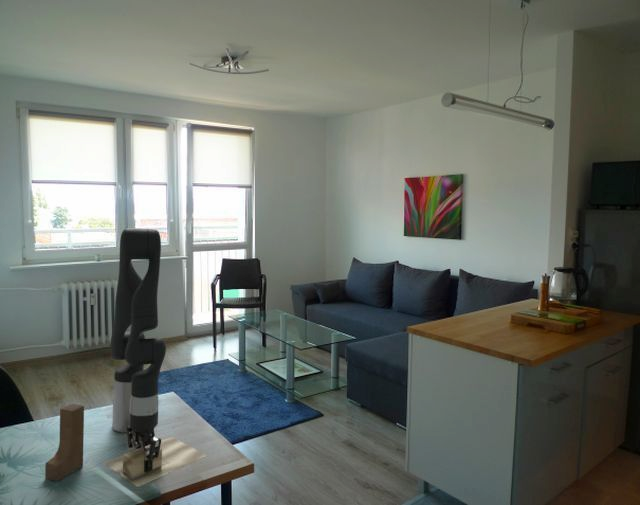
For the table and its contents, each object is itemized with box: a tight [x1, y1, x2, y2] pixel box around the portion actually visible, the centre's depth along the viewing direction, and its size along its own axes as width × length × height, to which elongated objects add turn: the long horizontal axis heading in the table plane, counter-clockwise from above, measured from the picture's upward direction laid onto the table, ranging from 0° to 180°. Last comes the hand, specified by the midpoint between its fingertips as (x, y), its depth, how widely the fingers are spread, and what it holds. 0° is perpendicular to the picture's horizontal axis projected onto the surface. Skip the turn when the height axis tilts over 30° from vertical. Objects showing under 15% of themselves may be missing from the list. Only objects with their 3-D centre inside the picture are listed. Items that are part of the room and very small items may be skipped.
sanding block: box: [122, 445, 162, 480], centre depth 132 cm, size 5×9×6 cm, turn 142°
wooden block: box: [44, 403, 85, 482], centre depth 131 cm, size 9×4×18 cm, turn 162°
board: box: [103, 436, 208, 488], centre depth 139 cm, size 18×23×1 cm
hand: (142, 467), depth 132 cm, fingers closed on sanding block, 5 cm apart
